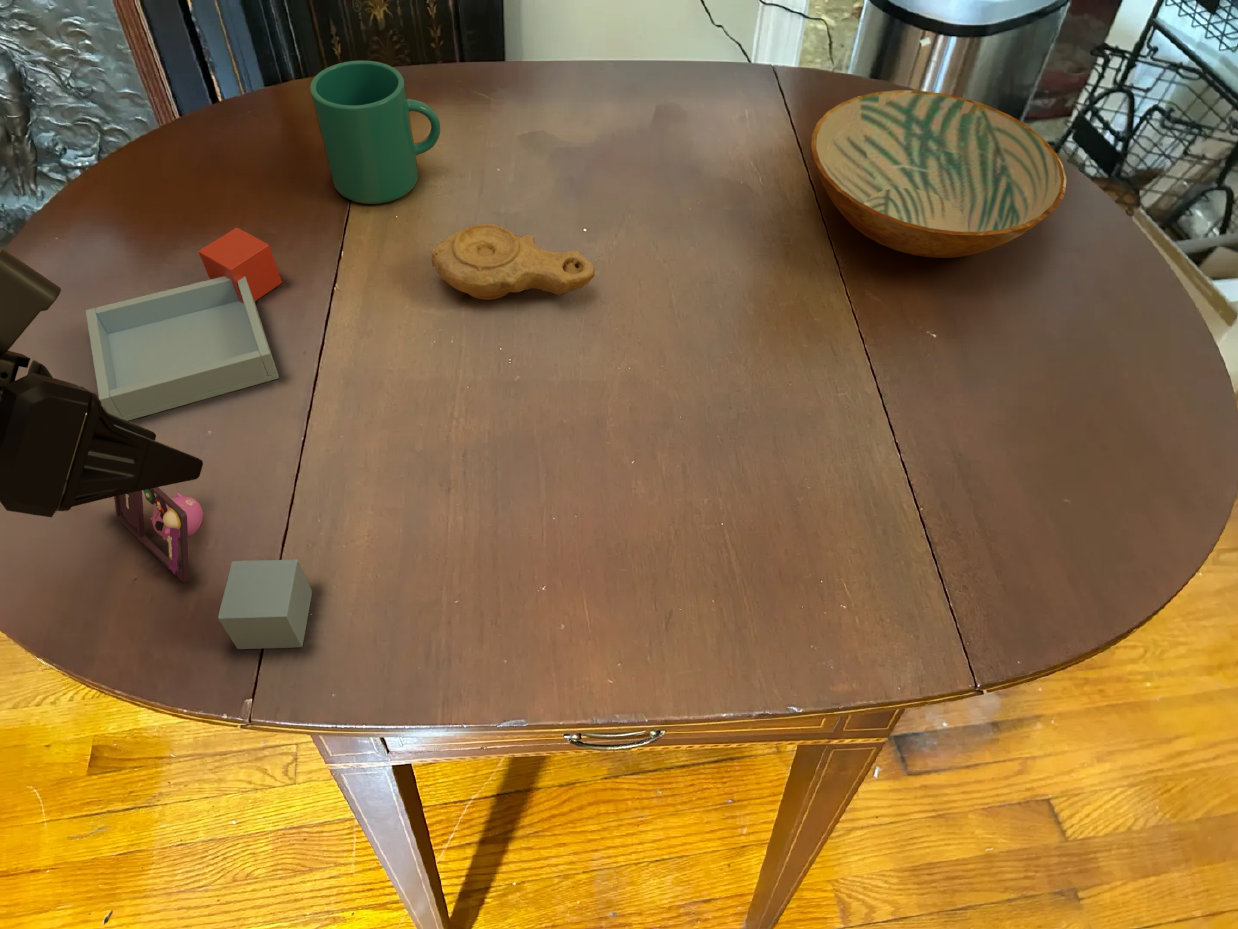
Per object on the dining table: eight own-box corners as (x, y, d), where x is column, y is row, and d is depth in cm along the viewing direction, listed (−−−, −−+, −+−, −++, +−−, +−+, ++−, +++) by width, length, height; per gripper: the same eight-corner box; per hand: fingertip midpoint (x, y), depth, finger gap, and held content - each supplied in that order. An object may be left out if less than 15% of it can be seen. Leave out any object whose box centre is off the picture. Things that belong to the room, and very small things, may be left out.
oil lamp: (598, 306, 87) (599, 265, 83) (451, 336, 84) (445, 294, 80) (566, 239, 93) (566, 197, 89) (428, 264, 90) (421, 222, 86)
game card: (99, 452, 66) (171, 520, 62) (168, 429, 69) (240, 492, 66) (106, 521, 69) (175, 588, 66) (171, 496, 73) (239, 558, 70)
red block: (245, 307, 85) (230, 269, 82) (213, 289, 87) (197, 251, 83) (282, 282, 87) (269, 244, 84) (251, 265, 89) (236, 226, 85)
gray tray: (114, 424, 76) (99, 399, 73) (99, 335, 82) (85, 309, 80) (279, 378, 80) (270, 353, 77) (253, 296, 86) (243, 271, 84)
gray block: (237, 649, 64) (217, 618, 60) (250, 593, 66) (231, 560, 63) (302, 647, 64) (286, 616, 60) (312, 592, 67) (297, 559, 63)
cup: (451, 198, 97) (439, 99, 88) (336, 211, 95) (311, 112, 86) (441, 150, 102) (428, 53, 93) (331, 162, 100) (308, 63, 91)
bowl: (750, 190, 99) (761, 124, 93) (924, 133, 108) (945, 68, 101) (901, 332, 86) (926, 265, 80) (1086, 254, 94) (1122, 188, 88)
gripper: (-98, 221, 37) (273, 338, 47) (-125, 223, 50) (168, 314, 61) (-176, 486, 37) (213, 543, 47) (-183, 416, 50) (120, 473, 61)
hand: (175, 454), depth 54 cm, fingers open, 9 cm apart
